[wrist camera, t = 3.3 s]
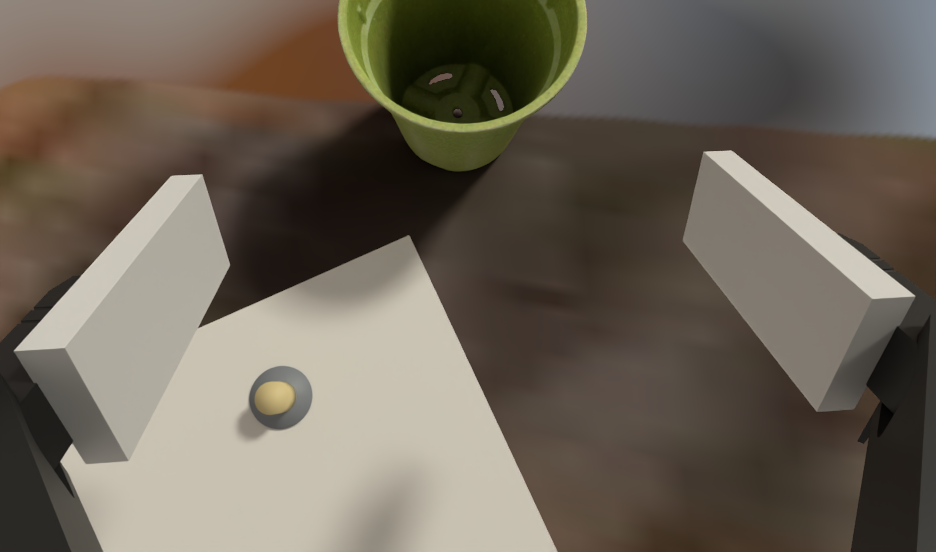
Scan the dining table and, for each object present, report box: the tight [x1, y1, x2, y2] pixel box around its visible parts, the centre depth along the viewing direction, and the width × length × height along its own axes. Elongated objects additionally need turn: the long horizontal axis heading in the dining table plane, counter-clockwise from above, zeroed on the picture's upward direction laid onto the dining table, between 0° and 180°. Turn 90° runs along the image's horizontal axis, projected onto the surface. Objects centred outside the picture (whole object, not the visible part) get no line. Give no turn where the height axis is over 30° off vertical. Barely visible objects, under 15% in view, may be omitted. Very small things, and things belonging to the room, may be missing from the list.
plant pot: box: [338, 0, 587, 171], centre depth 25 cm, size 9×9×9 cm
